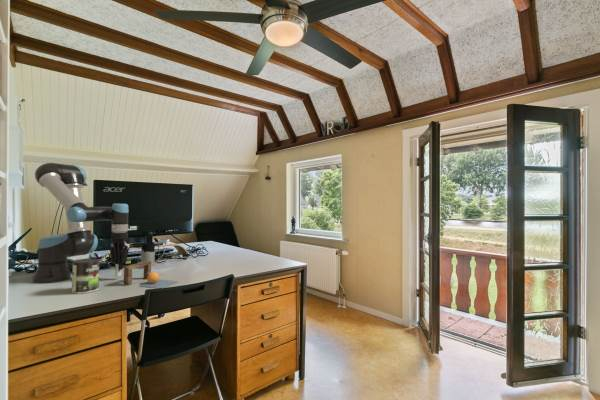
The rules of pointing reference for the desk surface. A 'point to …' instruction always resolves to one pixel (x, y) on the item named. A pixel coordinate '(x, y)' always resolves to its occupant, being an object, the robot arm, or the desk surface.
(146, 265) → the bridge
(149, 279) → the ball
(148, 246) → the glass holder
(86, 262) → the coffee can
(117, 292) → the desk surface
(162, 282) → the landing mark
